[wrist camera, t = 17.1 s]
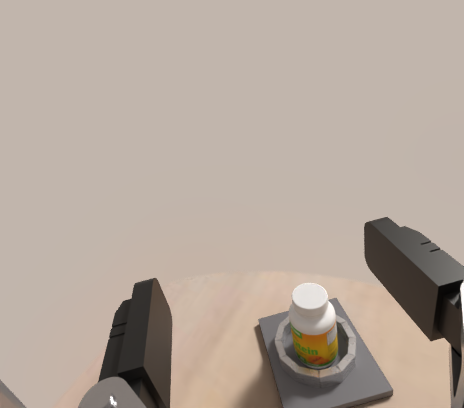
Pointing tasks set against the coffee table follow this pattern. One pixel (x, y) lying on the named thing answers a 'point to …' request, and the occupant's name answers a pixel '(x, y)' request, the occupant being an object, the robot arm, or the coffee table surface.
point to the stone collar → (315, 376)
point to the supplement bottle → (313, 326)
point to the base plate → (335, 396)
